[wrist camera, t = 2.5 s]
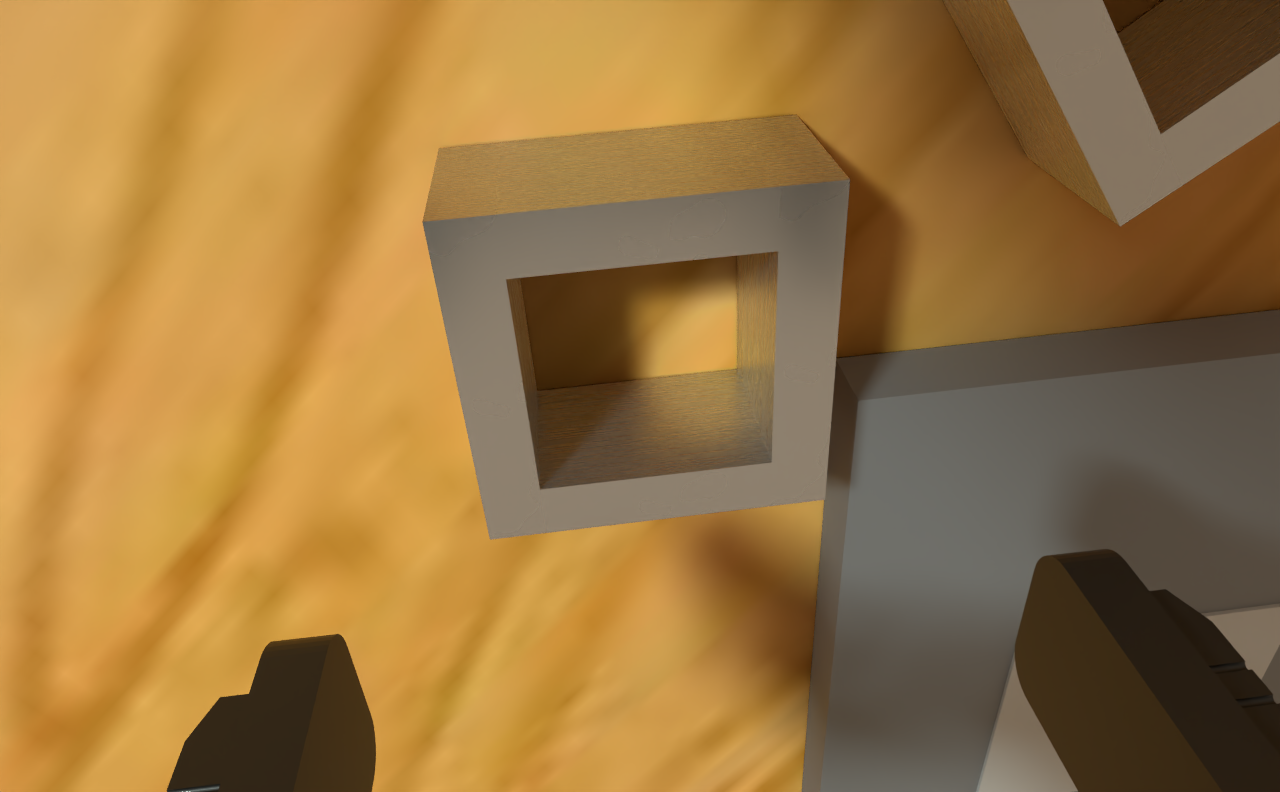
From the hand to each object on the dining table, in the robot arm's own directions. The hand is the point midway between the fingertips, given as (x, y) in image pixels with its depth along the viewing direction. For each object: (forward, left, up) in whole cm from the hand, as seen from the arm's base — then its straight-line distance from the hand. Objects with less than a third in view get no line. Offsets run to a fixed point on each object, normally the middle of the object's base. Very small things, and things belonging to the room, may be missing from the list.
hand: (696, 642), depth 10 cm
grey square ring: (0, 0, -8) cm, 8 cm away
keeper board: (+9, +11, -8) cm, 17 cm away
